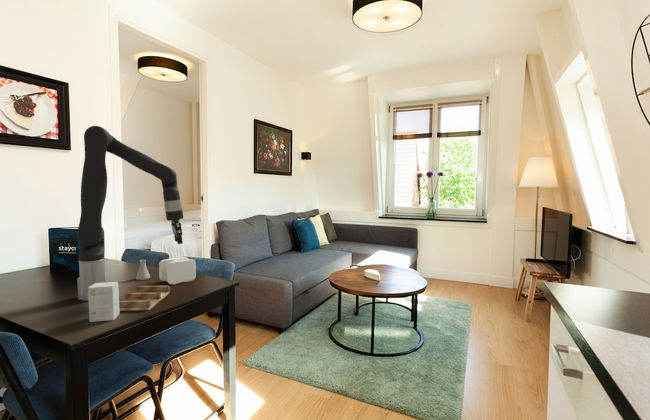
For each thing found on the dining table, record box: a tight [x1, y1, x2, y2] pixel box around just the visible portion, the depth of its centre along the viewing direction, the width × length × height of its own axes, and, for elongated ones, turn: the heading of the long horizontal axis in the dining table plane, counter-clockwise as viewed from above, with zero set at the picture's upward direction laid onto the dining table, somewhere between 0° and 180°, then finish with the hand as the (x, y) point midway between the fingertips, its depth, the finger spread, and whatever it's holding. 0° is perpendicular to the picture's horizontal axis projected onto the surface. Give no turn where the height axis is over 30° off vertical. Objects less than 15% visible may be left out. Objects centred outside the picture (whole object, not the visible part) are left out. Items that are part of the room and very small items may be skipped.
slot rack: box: [119, 285, 171, 312], centre depth 142 cm, size 14×22×4 cm, turn 5°
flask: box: [135, 259, 151, 281], centre depth 177 cm, size 7×7×10 cm
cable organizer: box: [158, 256, 197, 285], centre depth 172 cm, size 15×11×12 cm
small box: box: [88, 281, 121, 323], centre depth 124 cm, size 8×6×13 cm
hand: (179, 242), depth 160 cm, fingers open, 8 cm apart
